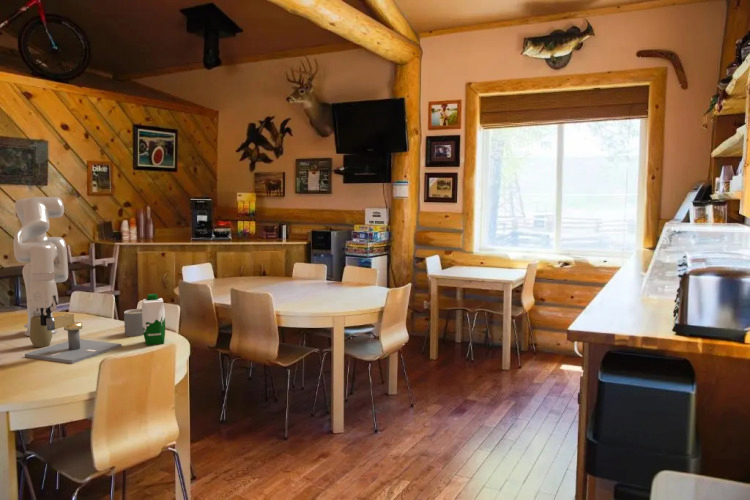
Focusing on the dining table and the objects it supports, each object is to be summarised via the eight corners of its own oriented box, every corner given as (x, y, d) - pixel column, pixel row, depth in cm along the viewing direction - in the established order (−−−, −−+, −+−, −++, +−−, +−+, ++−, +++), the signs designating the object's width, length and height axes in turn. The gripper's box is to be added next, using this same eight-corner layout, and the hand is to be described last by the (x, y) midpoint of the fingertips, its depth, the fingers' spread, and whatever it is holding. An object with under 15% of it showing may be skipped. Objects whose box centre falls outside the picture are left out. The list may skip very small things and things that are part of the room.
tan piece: (41, 334, 219) (40, 318, 218) (73, 326, 233) (73, 310, 232) (54, 336, 217) (53, 319, 216) (86, 327, 230) (85, 311, 230)
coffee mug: (127, 337, 251) (126, 314, 250) (122, 332, 260) (121, 310, 259) (159, 333, 259) (158, 311, 258) (154, 328, 267) (153, 307, 266)
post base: (24, 356, 222) (23, 333, 221) (76, 341, 245) (75, 320, 244) (72, 363, 214) (71, 339, 213) (121, 346, 236) (120, 325, 236)
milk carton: (165, 338, 249) (163, 292, 247) (166, 344, 241) (164, 296, 238) (143, 341, 245) (140, 294, 243) (143, 346, 237) (141, 298, 235)
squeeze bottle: (57, 344, 241) (54, 301, 239) (40, 349, 233) (37, 305, 231) (42, 342, 243) (40, 299, 241) (25, 347, 236) (22, 303, 234)
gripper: (19, 277, 218) (22, 325, 220) (49, 279, 213) (52, 328, 215) (37, 274, 225) (40, 321, 227) (66, 276, 220) (69, 324, 222)
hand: (46, 324), depth 221 cm, fingers closed
